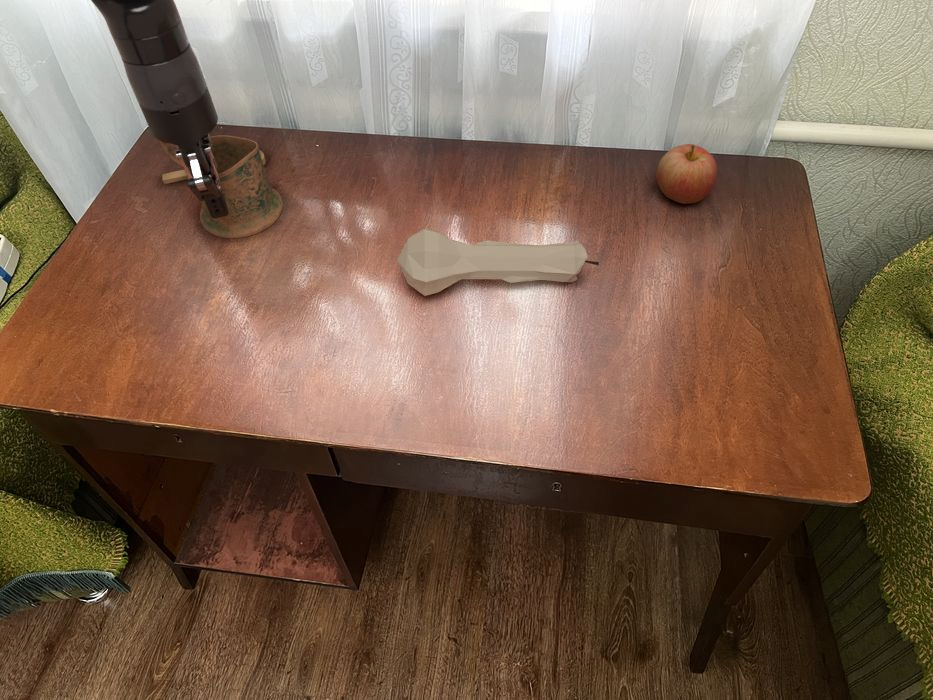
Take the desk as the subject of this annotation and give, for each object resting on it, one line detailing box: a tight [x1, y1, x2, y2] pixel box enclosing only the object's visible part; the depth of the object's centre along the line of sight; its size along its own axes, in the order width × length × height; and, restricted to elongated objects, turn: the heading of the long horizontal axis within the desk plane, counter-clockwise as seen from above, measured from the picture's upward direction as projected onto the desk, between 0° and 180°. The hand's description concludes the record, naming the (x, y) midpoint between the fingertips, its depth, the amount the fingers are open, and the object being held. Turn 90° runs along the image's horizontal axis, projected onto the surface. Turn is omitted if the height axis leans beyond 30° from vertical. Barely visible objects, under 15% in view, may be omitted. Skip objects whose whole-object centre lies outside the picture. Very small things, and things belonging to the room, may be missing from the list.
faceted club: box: [396, 227, 600, 297], centre depth 86 cm, size 9×8×25 cm
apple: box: [655, 143, 718, 205], centre depth 95 cm, size 8×8×8 cm
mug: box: [158, 134, 284, 239], centre depth 95 cm, size 12×18×12 cm, turn 60°
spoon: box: [161, 149, 267, 185], centre depth 105 cm, size 15×4×1 cm, turn 108°
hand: (220, 213), depth 90 cm, fingers closed
